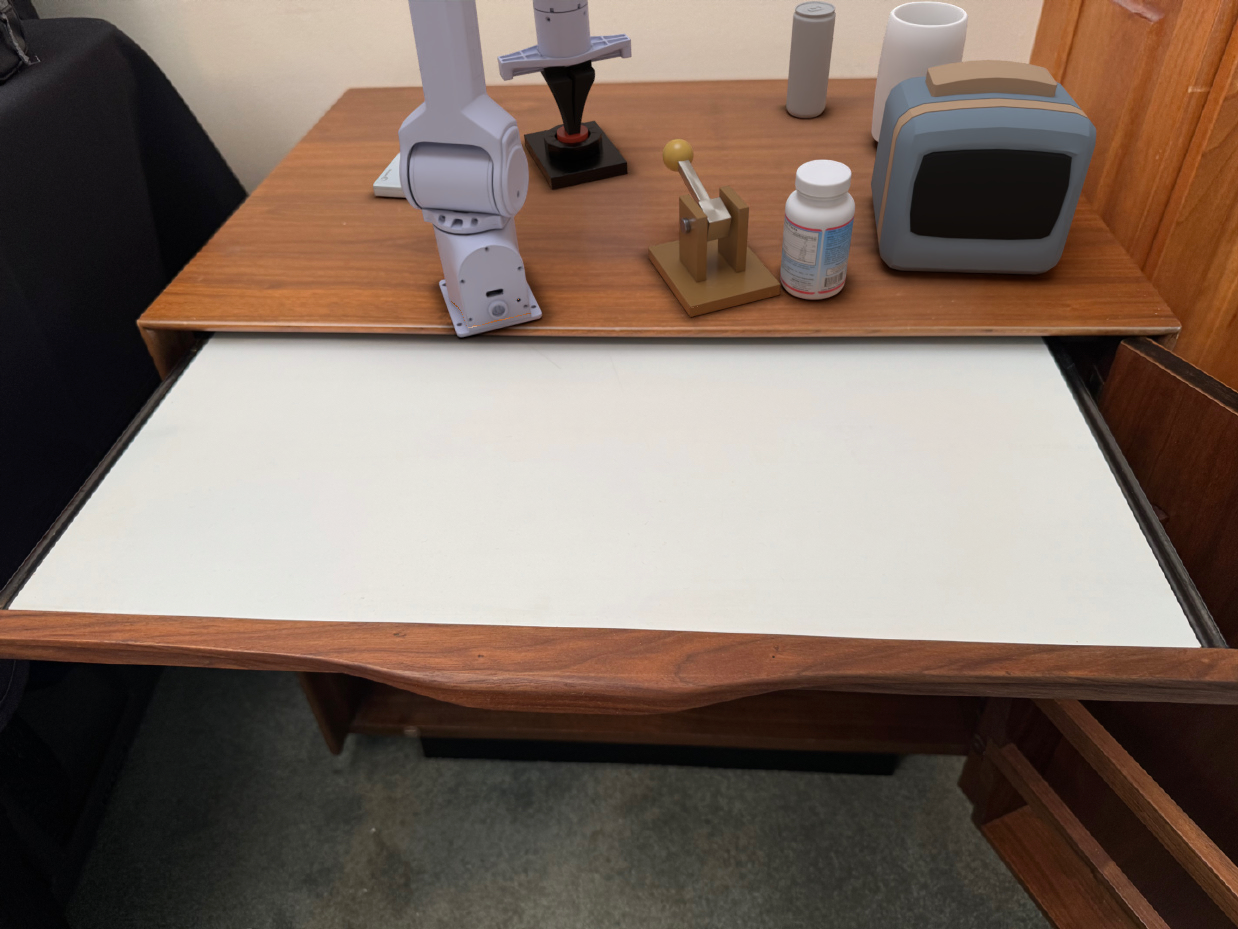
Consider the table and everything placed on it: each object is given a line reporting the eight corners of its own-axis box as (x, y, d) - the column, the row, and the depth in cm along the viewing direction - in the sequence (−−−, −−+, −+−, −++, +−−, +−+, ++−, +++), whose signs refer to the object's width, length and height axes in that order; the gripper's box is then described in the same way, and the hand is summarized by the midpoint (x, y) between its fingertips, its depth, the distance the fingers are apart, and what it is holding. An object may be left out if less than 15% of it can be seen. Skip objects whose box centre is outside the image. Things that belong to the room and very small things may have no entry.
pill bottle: (836, 263, 85) (852, 152, 77) (850, 300, 81) (868, 186, 73) (773, 268, 85) (782, 157, 77) (784, 304, 81) (795, 191, 73)
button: (593, 148, 101) (591, 133, 100) (563, 154, 101) (561, 140, 99) (583, 136, 104) (582, 121, 103) (554, 142, 103) (553, 127, 102)
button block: (627, 173, 100) (626, 148, 98) (552, 189, 99) (549, 164, 96) (595, 131, 108) (593, 107, 106) (525, 145, 107) (521, 121, 105)
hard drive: (371, 184, 98) (476, 190, 96) (399, 150, 104) (499, 155, 102) (375, 197, 99) (479, 204, 97) (403, 163, 105) (501, 168, 103)
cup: (854, 135, 104) (872, 6, 94) (919, 123, 105) (944, -5, 95) (888, 166, 98) (912, 32, 88) (957, 154, 99) (987, 20, 89)
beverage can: (778, 108, 110) (785, 5, 102) (810, 99, 112) (820, -3, 103) (799, 122, 107) (809, 17, 99) (832, 113, 108) (845, 9, 100)
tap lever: (656, 160, 86) (659, 135, 84) (685, 154, 87) (688, 129, 84) (701, 245, 81) (705, 220, 78) (731, 238, 81) (736, 213, 79)
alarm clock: (876, 277, 83) (907, 111, 72) (866, 192, 94) (891, 37, 83) (1060, 283, 81) (1120, 112, 70) (1026, 195, 92) (1074, 36, 81)
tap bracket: (648, 257, 88) (645, 184, 82) (731, 237, 89) (734, 165, 84) (690, 317, 80) (690, 241, 75) (779, 294, 82) (786, 219, 76)
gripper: (614, -19, 96) (620, 105, 105) (484, 3, 93) (502, 128, 102) (635, 0, 91) (640, 129, 100) (499, 24, 88) (517, 154, 98)
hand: (572, 130), depth 101 cm, fingers closed, pressing on button
